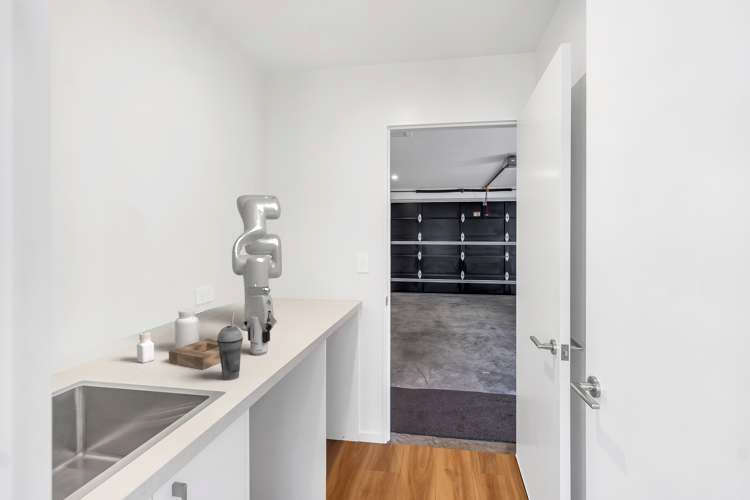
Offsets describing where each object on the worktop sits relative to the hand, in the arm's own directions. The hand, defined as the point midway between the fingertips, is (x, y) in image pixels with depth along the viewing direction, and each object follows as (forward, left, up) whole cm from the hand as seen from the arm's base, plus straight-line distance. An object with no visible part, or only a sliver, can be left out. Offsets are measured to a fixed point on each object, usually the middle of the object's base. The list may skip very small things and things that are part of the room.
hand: (259, 340), depth 137 cm
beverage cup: (+21, +8, -5) cm, 23 cm away
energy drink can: (0, 0, -5) cm, 5 cm away
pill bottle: (+8, -27, -5) cm, 29 cm away
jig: (+12, -13, -5) cm, 18 cm away
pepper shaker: (+22, -30, -5) cm, 37 cm away
